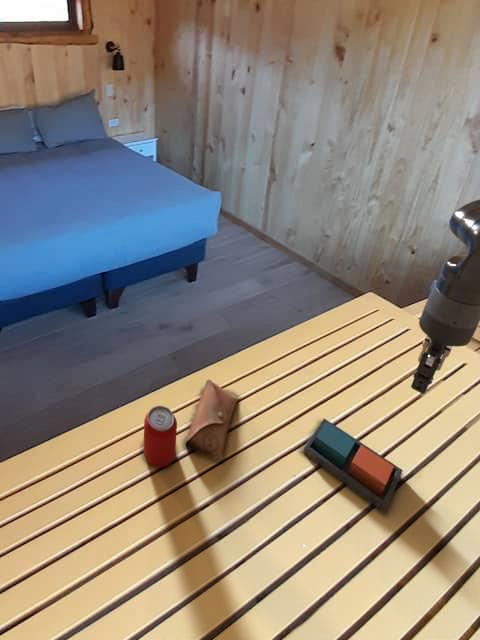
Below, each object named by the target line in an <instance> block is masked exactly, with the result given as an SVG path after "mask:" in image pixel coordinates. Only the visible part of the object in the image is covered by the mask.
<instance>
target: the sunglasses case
mask: <svg viewBox="0 0 480 640" xmlns="http://www.w3.org/2000/svg"><path fill="white" fill-rule="evenodd" d="M238 400H239V398H238V397H235V396H233V394H230V393H229V392H228V391H226V390H225V389H224V388H222V387H220V386H219V385H218V384H216V383H215V382H213V380H212V379H207V380H206V381H205V384H204V386H203V389H202V392H201V394H200V397H199V401H198V403H197V405H196V409H195V412H194V415H193V418H192V421H191V424H190V427H189V430H188V433H187V437H186V440H185V448H186V449H187V448H188V449H190V450H193V451H195V452H198V453H201V454H203V455H206V456H209V457H212V458H217V459H218V458H219V459H222V458H223V457H224V454H225V453H224V452H225V449H226V448H225V446H226V441H227V437H228V433H229V429H230V425H231V421H232V417H233V414H234V411H235V409H236V405H237V403H238Z"/></svg>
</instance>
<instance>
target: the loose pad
mask: <svg viewBox="0 0 480 640" xmlns="http://www.w3.org/2000/svg"><path fill="white" fill-rule="evenodd" d="M393 468H394V466H392V465H391V464H389V463H388V462H386V461H385V460H383V459H382V458H380V457H379V456H377V455H376V454H374V453H372V452H371V451H369V450H368V449H366V448H365V447H363V446H362V445H361V446H360V448H359V450H358V452H357V454H356V456H355V458H354V459H353V461H352V464H351V466H350V469H349V471H348V474H349V475H350V476H351V477H353V478H354V479H356V480H357V481H358V482H360V483H361V484H363V485H364V486H365V487H367V488H368V489H370V490H371V491H372V492H374V493H375V494H377V495H378V496H379V497H380V496H381V494H382V492H383V490H384V488H385V486H386V484H387V481H388V479H389V477H390V475H391V472H392V470H393Z"/></svg>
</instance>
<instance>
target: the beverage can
mask: <svg viewBox="0 0 480 640" xmlns="http://www.w3.org/2000/svg"><path fill="white" fill-rule="evenodd" d="M177 431H178V421H177V418H176V417H175V415H174V413H173V411H171V409H170V408H168V407H166V406H163V405H157V406H153V407H152V408H151V409H149V411H148V412H146V415H145V416H144V420H143V454H144V457H145V459H146V461H147V462H148V464H150V465H151V466H153V467H157V468H165V467H167V466H170V464H171V463H173V461H174V459H175V456H176V446H177Z"/></svg>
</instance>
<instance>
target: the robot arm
mask: <svg viewBox="0 0 480 640" xmlns="http://www.w3.org/2000/svg"><path fill="white" fill-rule="evenodd" d="M448 226H449V230H450V232H451V233H452V234H453V235H454V236H455V237H456V238H457V239H458V240H459V241H460V242H461V243H462V244H464V245H465V247H467V249H468V252H467V254H455V255H451V256H449V257H448V258H447V259H446V260H445V262H444V263H443V264H442V267H441V269H440V272H439V275H438V278H437V280H436V282H435V283H434V286H433V287H432V289H431V291H430V293H429V295H428V297H427V300H426V303H425V305H424V308H423V310H422V313H421V315H420V317H419V320H418V325H419V328H420V330H421V331H422V332H423V333H424V334H425V335H426V336H425V337H424V340H423V342H422V345H421V347H422V349H421V351H420V353H419V355H418V358H417V361H418V365H417V368H416V369H415V371H414V373H413V374H412V375H413V380H412V383H411V384H410V387H411V389H412V390H414V391H416V392H418V393H420V394H422V395H424V394H426V392H427V389H428V387H429V386H430V385H432V383H433V381H434V376H435V374H436V372H439V371H441V370H442V367H443V365H444V363H445V360H446V359H447V358H449V356H450V354H451V351H452V348H453V347H465V346H467V345H469V344H470V343H471V341H472V339H473V337H474V335H475V332H476V331H477V329H478V327H479V324H480V198H479V199H476V200H472V201H470V202H467V203H465V204H464V205H462V206H461V207H459V208H458V209H456V210H455V212H453V214H452V215H451V216H450V218H449V222H448Z"/></svg>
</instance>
